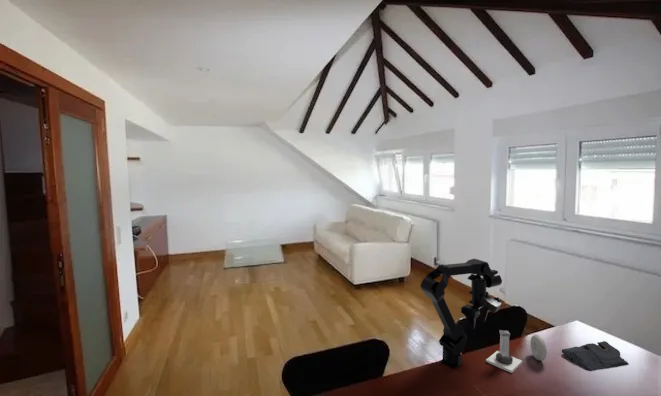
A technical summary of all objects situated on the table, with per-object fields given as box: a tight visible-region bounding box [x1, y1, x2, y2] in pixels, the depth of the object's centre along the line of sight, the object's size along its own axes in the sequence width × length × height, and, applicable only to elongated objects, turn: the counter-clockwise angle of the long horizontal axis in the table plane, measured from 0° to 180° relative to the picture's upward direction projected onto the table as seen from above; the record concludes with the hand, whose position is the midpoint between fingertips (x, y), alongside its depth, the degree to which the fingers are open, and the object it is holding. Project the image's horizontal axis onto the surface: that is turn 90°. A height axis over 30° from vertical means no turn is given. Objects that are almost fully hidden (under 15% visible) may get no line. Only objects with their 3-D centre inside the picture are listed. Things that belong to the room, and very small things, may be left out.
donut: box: [529, 334, 548, 361], centre depth 136 cm, size 10×3×10 cm, turn 168°
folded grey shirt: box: [561, 340, 630, 372], centre depth 136 cm, size 15×22×5 cm
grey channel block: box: [496, 329, 513, 365], centre depth 134 cm, size 6×6×12 cm
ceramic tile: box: [485, 350, 523, 374], centre depth 135 cm, size 10×10×1 cm
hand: (478, 324), depth 140 cm, fingers open, 9 cm apart
